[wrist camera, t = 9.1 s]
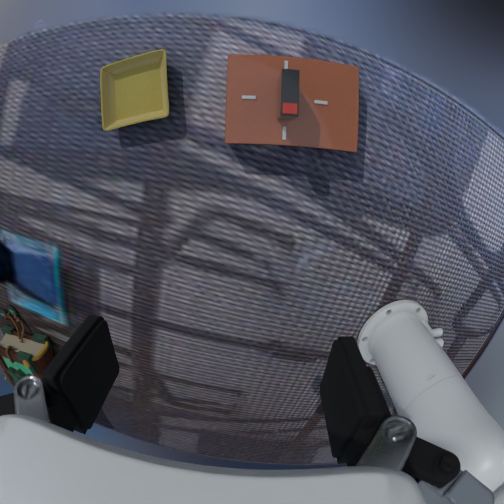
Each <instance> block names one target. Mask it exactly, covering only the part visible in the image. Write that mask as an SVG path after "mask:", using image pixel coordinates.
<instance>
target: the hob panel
mask: <svg viewBox="0 0 504 504" xmlns="http://www.w3.org/2000/svg"><path fill="white" fill-rule="evenodd" d="M282 69H294V70H300V75H299V111H298V117H297V118H295V119H294V120H292V121H291V120H277V102H278V78H279V75H280V72H281V70H282ZM358 120H359V67H356V66H351V65H346V64H340V63H334V62H328V61H321V60H314V59H306V58H296V57H285V56H269V55H228V69H227V93H226V124H225V143H226V144H260V145H282V146H297V147H310V148H321V149H330V150H339V151H348V152H357V142H358Z"/></svg>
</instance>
